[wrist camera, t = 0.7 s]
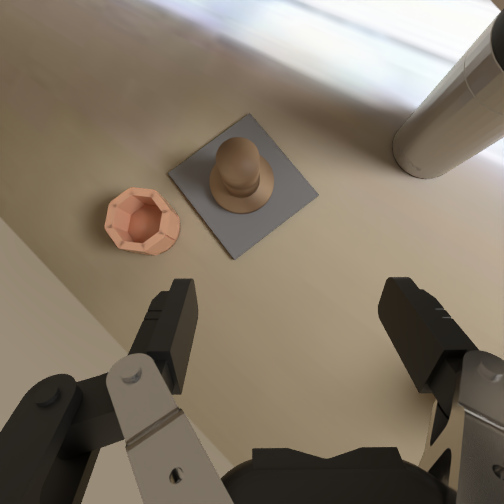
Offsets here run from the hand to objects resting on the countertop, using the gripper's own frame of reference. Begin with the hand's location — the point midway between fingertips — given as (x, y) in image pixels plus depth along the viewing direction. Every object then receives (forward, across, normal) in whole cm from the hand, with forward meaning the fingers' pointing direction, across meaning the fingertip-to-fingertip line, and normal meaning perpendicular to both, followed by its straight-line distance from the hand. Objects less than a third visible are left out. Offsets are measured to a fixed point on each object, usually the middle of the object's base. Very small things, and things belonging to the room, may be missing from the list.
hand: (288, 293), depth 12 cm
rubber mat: (+30, +3, +6) cm, 31 cm away
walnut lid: (+30, +3, +5) cm, 30 cm away
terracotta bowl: (+26, +16, +10) cm, 33 cm away
